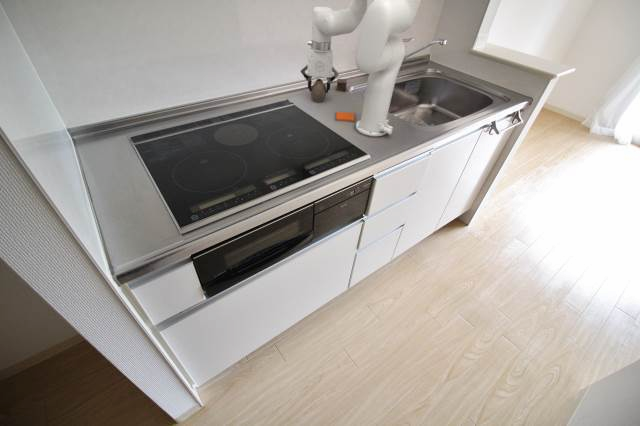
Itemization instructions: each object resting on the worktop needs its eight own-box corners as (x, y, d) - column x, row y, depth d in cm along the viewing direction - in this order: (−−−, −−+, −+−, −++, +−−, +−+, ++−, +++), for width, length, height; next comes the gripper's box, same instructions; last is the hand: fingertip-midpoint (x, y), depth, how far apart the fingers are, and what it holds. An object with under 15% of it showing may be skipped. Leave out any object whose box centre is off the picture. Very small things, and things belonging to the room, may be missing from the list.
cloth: (353, 114, 120) (353, 113, 119) (354, 121, 115) (354, 119, 115) (336, 113, 120) (336, 111, 119) (336, 120, 115) (336, 118, 115)
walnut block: (345, 87, 140) (346, 79, 138) (345, 91, 137) (346, 82, 135) (336, 87, 140) (337, 78, 138) (336, 90, 137) (337, 82, 135)
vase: (325, 103, 126) (327, 83, 120) (310, 102, 126) (310, 82, 120) (326, 97, 131) (327, 77, 125) (310, 96, 131) (311, 76, 125)
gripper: (298, 46, 110) (297, 92, 123) (343, 49, 110) (338, 96, 123) (300, 41, 116) (299, 86, 128) (343, 44, 116) (338, 89, 128)
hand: (318, 90), depth 125 cm, fingers closed on vase, 6 cm apart
